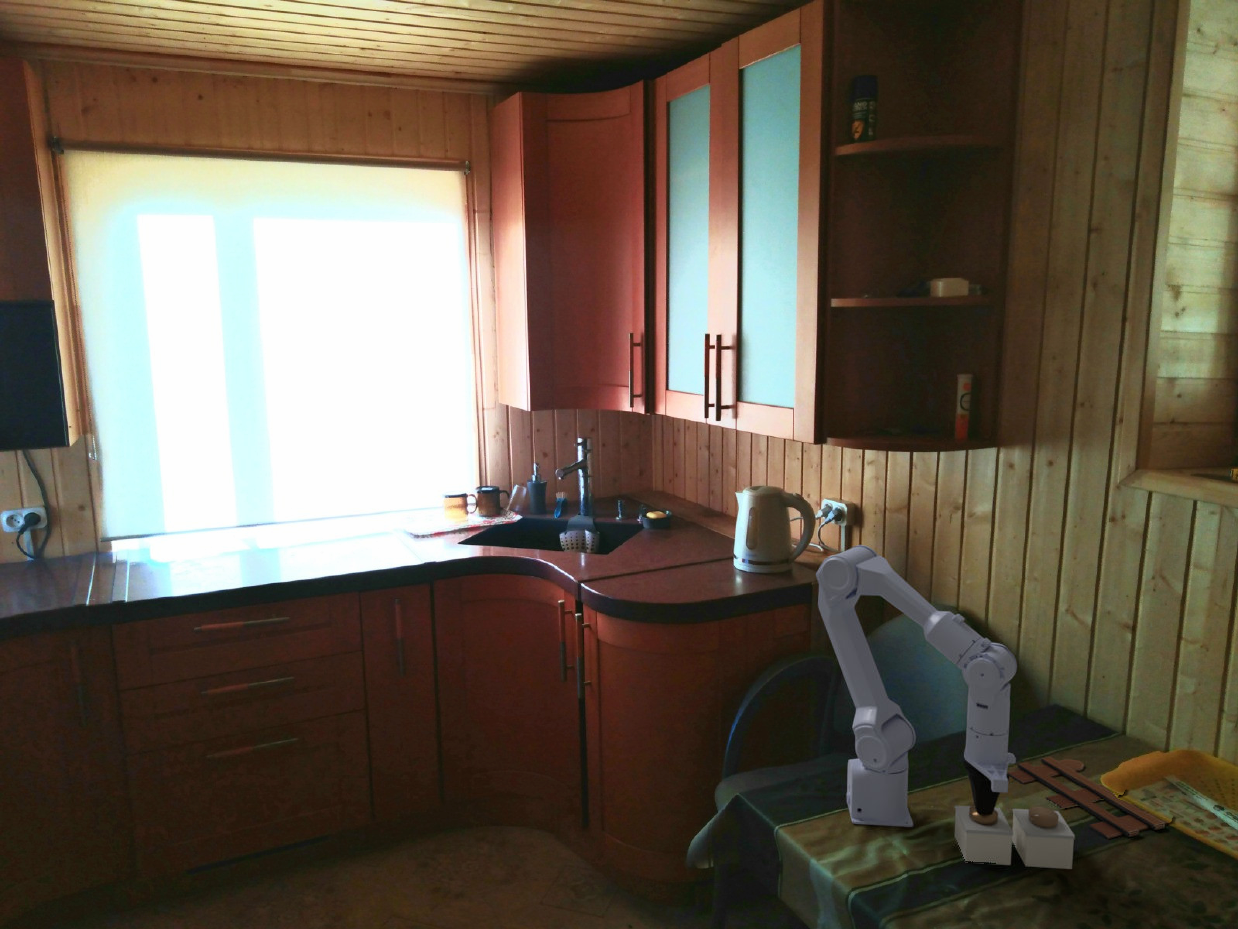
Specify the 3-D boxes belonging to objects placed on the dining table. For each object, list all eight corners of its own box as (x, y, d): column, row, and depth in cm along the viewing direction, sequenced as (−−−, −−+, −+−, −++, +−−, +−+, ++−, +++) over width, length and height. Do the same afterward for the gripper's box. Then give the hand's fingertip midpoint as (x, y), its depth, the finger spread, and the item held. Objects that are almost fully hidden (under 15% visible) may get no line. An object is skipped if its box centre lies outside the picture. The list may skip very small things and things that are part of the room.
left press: (964, 862, 126) (966, 829, 125) (951, 833, 134) (953, 801, 133) (1011, 865, 125) (1013, 832, 125) (996, 835, 133) (997, 804, 132)
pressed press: (1025, 866, 125) (1027, 825, 124) (1008, 836, 133) (1010, 797, 132) (1072, 869, 124) (1075, 827, 123) (1053, 839, 132) (1056, 799, 131)
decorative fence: (1112, 847, 130) (1185, 828, 135) (1113, 837, 130) (1186, 818, 135) (1002, 775, 152) (1068, 761, 157) (1002, 766, 152) (1069, 752, 156)
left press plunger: (971, 854, 127) (973, 818, 126) (964, 838, 131) (966, 803, 130) (999, 856, 127) (1001, 819, 126) (991, 840, 131) (993, 805, 130)
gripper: (1032, 751, 118) (1027, 842, 120) (1001, 707, 133) (997, 788, 135) (979, 749, 119) (975, 838, 121) (954, 705, 134) (950, 786, 136)
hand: (983, 812), depth 128 cm, fingers closed, pressing on left press plunger
